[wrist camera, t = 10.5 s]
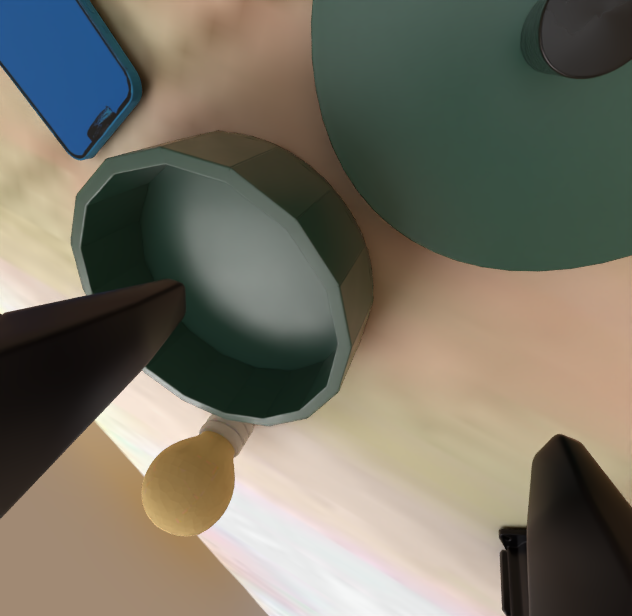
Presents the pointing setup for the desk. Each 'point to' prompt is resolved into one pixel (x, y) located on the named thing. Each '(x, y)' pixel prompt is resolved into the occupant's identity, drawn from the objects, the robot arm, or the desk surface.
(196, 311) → the tin
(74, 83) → the smartphone
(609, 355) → the desk surface
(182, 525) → the light bulb
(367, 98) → the tin lid
